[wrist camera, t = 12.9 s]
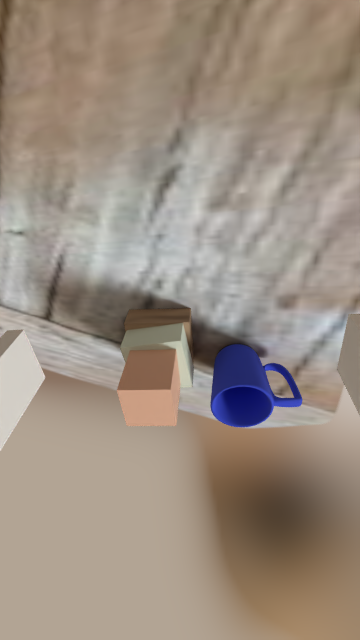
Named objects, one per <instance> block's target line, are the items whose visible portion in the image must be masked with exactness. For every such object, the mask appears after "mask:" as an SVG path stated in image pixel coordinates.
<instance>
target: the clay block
mask: <svg viewBox="0 0 360 640" xmlns="http://www.w3.org/2000/svg"><path fill="white" fill-rule="evenodd" d="M180 385H181V383H180V375H179V367H178V359H177V352H176V349H166V350H130V352H129V355H128V358H127V361H126V364H125V367H124V370H123V373H122V376H121V379H120V382H119V386H118V389H117V392H118V395H119V399H120V403H121V407H122V410H123V413H124V417H125V420H126V424H127V426H176V423H177V414H178V404H179V395H180Z"/></svg>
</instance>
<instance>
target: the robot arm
mask: <svg viewBox="0 0 360 640" xmlns="http://www.w3.org/2000/svg"><path fill="white" fill-rule="evenodd" d="M337 370H338V372H339V374H340V376H341V378H342V381H343V383H344V385H345V387H346V389H347V391H348V392H349V395H350V397H351V399H352V401H353V403H354V405H355V407H356V409H357V411H358V413H359V415H360V314H349V315H348V320H347V325H346V330H345V334H344V339H343V344H342V348H341V353H340V358H339V363H338V367H337ZM44 379H45V376H44V373H43V371H42V369H41V367H40V364H39V362H38V360H37V358H36V356H35V353H34V351H33V349H32V347H31V345H30V342H29V340H28V338H27V336H26V334H25V331H24V330H9V331H6V332H5V333H4V335H3V336H2V337H1V338H0V450H1V449H2V447H3V446H4V444H5V442H6V441H7V439H8V438H9V436H10V434H11V433H12V431H13V429H14V427H15V426H16V425H17V423H18V421H19V420H20V418H21V416H22V415H23V413H24V411H25V410H26V408H27V407H28V404H29V403H30V402H31V400H32V398H33V397H34V395H35V394H36V392H37V390H38V389H39V387H40V385H41V384H42V382H43V380H44Z"/></svg>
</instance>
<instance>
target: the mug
mask: <svg viewBox="0 0 360 640" xmlns="http://www.w3.org/2000/svg"><path fill="white" fill-rule="evenodd" d="M268 370H273V371H277V372H279V373H281V374H282V375H283V376H284V377H285V379H286V380H287V382H288V384H289V386H290V388H291V390H292V392H293V395H294V397H295V398H279V397H276V396H275V395H274V394H273V392H272V390H271V388H270V385H269V382H268V379H267V375H266V372H265V371H268ZM301 404H302V397H301V394H300V392H299V390H298V388H297V385H296V383H295V381H294V379H293V378H292V376H291V374H290V373H289V372H288V370H287V369H286V368H285V367H283V366H282V365H280V364H276V363H270V364H266V365H265V366H262V363H261V361H260V359H259V357H258V355H257V353H256V352H255V351H254V350H253V349H252V348H250V347H248V346H246V345H241V344H234V345H229V346H227V347H225V348H223V349H222V350H221V351H220V352H219V353H218V355H217V356H216V359H215V363H214V373H213V384H212V395H211V411H212V413H213V415H214V416H215V417H216V418H217V419H218V420H219V421H221V422H222V423H224V424H227V425H230V426H234V427H250V426H254V425H257V424H259V423H261V422H263V421H265V420H266V419H267V418H268V417H269V416H270V415H271V413H272V411H273V408H274V406H279V407H298V406H301Z"/></svg>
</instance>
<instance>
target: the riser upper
mask: <svg viewBox="0 0 360 640" xmlns="http://www.w3.org/2000/svg"><path fill="white" fill-rule="evenodd" d="M166 349H176V352H177V359H178V367H179V375H180V383H181V385H180V388H186V387H193V371H194V366H193V362H192V358H191V354H190V350H189V346H188V342H187V338H186V334H185V330H184V325H183V323H178V324H170V325H163V326H155V327H147V328H140V329H132V330H127V331H126V333H125V336H124V339H123V341H122V344H121V347H120V350H121V352H122V355H123V357H124V360H125V362H126V361H127V358H128V355H129V352H130V350H166Z"/></svg>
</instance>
